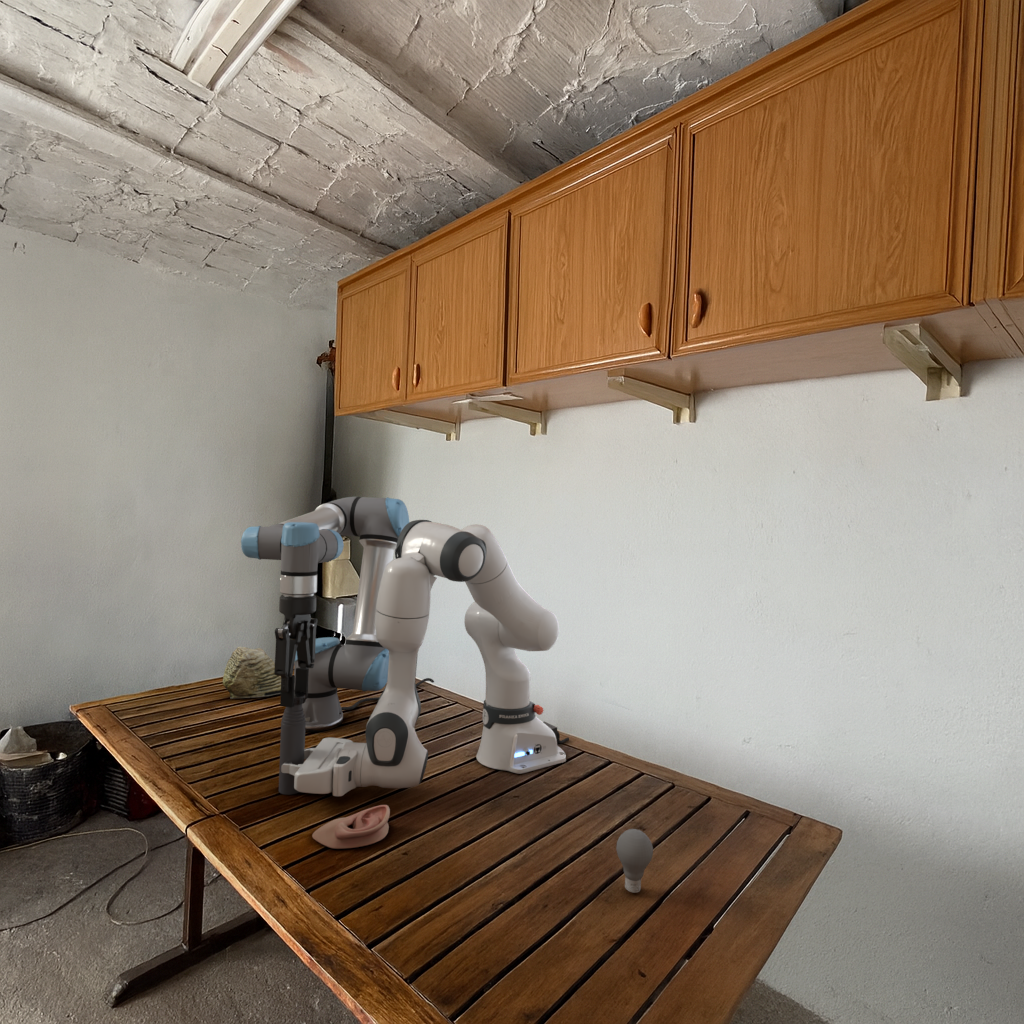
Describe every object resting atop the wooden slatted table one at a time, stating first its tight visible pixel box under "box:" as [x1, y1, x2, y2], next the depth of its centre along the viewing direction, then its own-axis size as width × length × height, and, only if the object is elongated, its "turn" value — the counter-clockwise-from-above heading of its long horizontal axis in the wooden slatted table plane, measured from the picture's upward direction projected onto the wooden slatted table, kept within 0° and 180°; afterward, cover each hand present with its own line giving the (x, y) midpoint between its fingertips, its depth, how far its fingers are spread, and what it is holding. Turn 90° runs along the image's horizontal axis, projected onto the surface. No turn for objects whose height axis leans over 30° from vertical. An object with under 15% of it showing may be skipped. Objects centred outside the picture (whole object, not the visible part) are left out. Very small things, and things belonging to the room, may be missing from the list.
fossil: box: [222, 646, 281, 699], centre depth 198 cm, size 9×18×15 cm, turn 132°
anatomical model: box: [311, 804, 391, 850], centre depth 119 cm, size 13×4×12 cm
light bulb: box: [615, 828, 654, 894], centre depth 106 cm, size 6×6×10 cm
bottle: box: [278, 704, 306, 796], centre depth 136 cm, size 5×5×20 cm
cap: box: [294, 691, 306, 705], centre depth 136 cm, size 5×5×2 cm
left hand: (294, 701), depth 136 cm, fingers open, 5 cm apart
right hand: (287, 761), depth 136 cm, fingers closed on bottle, 5 cm apart
